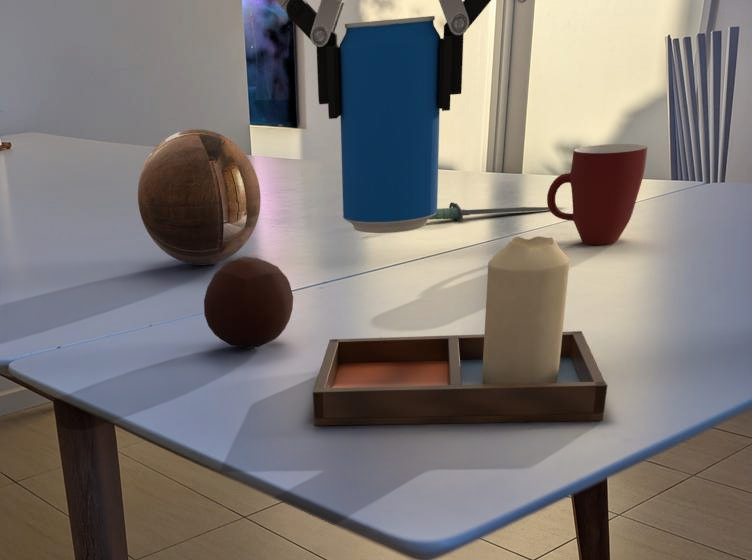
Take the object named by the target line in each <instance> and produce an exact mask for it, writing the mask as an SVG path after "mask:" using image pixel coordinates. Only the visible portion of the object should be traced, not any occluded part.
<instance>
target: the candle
mask: <svg viewBox="0 0 752 560" xmlns="http://www.w3.org/2000/svg"><path fill="white" fill-rule="evenodd" d="M570 262H571V261H570V259H569V257H568V256H567V255H566V254H565V253H564V251H563V250H562V249H561V248H560V246H559V245H558V244H557V242H556V241H555V239H554V237H547V236H546V237H545V236H533V237H532V238H529V239H528V238H524V237H521V236H515V237H513V238H512V239H511V240H510V241H509V242H508V243H507V244H506V245H505V246H504V247H503V248H502V249H500V250H499V251H497V253H495V255H493V256H492V258H490V260H489V261H488V263H487V278H486V279H487V281H486V298H485V317H484V352H483V374H482V378H483V383H484V384H524V383H556V382H557V378H558V372H559V363H560V353H561V343H562V333H563V332H564V324H565V323H564V322H565V312H566V302H567V292H568V283H569V274H570V273H569V271H570Z"/></svg>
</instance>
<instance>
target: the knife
mask: <svg viewBox="0 0 752 560" xmlns="http://www.w3.org/2000/svg"><path fill="white" fill-rule="evenodd" d="M546 211H550V210H549V208H548V206H544V207H543V206H518V207H499V208H498V207H497V208H480V209H479V208H478V209H477V208H476V209H464V208H463V209H462V208H461V207H460V205H458V203H457V202H452V201H451V202H450V203H449V206H448V207H446V208H445V207H444V208H443V207H442V208H437V213H436V214H435V215H433V216H432V217H431V218H429V219H428V221H429V220H448V219H450V220H452V219H453V220H455V221H458V222H462V221H463V219H464V217H465V216H476V215H477V216H478V215H479V216H480V215H494V214H495V215H496V214H515V213H530V212H531V213H532V212H535V213H536V212H546Z"/></svg>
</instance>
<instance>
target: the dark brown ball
mask: <svg viewBox="0 0 752 560" xmlns="http://www.w3.org/2000/svg"><path fill="white" fill-rule="evenodd" d="M292 290H293V289H292V287H291V283H290V281H289V279H288V277H287V275H286V274H285V273H284V272H283V271H282V270H281V269H280V268H279V267H278V265H275V264H273V263H271V262H268V261H266V260H263V259H261V258H258V257H252V256H241V257H237V258H234V259H232V260H230V261H226V263H224V264H223V265H222V266H221V267H220V268H219V269H218V270H217V271H216V272H215V273H214V274H213V276H212V278H211V279H210V282H209V284H208V285H207V287H206V291H205V295H204V298H203V308H204V309H203V314H204V318H205V320H206V324H207V326H208V328H209V329H210V330H211V332H212V333H213V334H214V335H215V337H217V338H218V339H219V340H221V341H223V342H224V343H226V344H227V345H229V346H232V347H237V348H244V349H254V348H260V347H262V346H265V345H267V344H269V343H270V342H272V341H274V340H276V339H277V338H278V337H280V335H282V333H283V332H284V331H285V330H286V328H287V326H288V324H289V322H290V320H291V317H292V312H293V309H294V294H293V291H292Z"/></svg>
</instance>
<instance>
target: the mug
mask: <svg viewBox="0 0 752 560" xmlns="http://www.w3.org/2000/svg"><path fill="white" fill-rule="evenodd" d="M647 154H648V146H647V145H644V144H639V143H636V144H635V143H612V144H611V143H610V144H597V145H587V146H581V147H577V148H575V149H573V153H572V159H571V167H570V172H567V173H566V172H565V173H563V174H560V175H558V176H557V177H556V178H554V180H553V181H552V183H551V184H550V186H549V188H548V191H547V196H546V204H547V207H548V208H549V210H548V211H549V212H550V213H551V214H552V215H553V216H554V217H556V218H557V219H560V220H564V221H570V222H571V221H572V222H573V224H574V225H575V228H576V230H577V233H578V235H579V237H580V240H581V242H582V243H583V244H585V245H592V246H605V245H610V244H612V245H613V244H615V243H617V242H618V240H619V239H620V237H621V236H622V234H623V232H624V231H625V229H626V228H627V226H628V224H629V223H630V220H631V218H632V215H633V212H634V209H635V206H636V202H637V199H638V195H639V192H640V188H641V186H642V182H643V179H644V176H645V175H644V174H645V170H646V163H647V156H648V155H647ZM564 184H570V188H571V199H572V200H571V201H572V213H569V212H564V211H562V210H560V209H559V207H558V206H557V203H556V196H557V192H558V190H559V188H560V187H561V186H562V185H564Z"/></svg>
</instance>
